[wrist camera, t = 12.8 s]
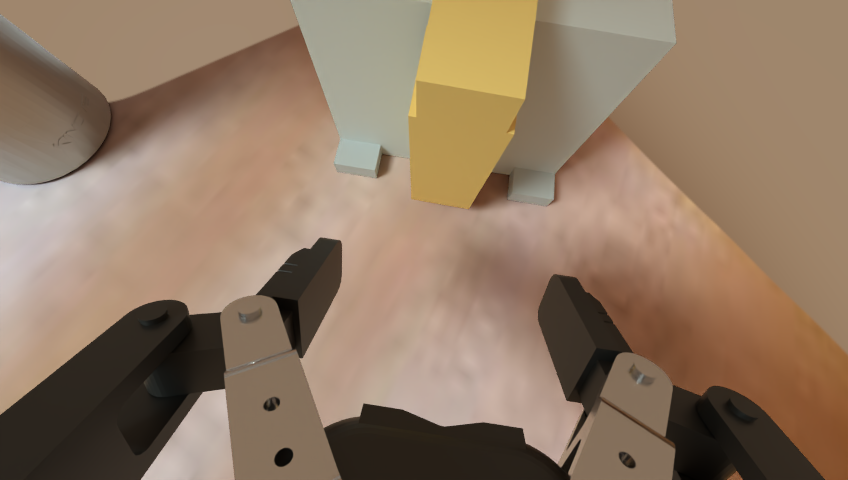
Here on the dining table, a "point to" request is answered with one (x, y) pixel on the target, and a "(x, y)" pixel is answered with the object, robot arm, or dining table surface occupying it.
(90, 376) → the robot arm
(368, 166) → the wall board
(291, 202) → the dining table surface
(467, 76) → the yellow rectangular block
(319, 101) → the dining table surface
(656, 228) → the dining table surface
